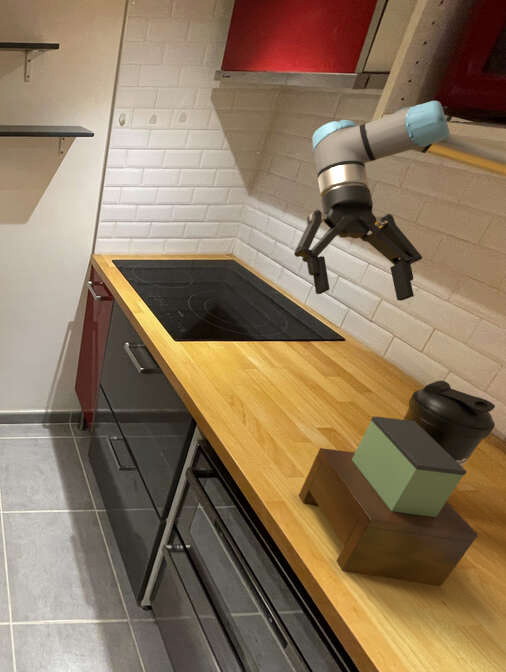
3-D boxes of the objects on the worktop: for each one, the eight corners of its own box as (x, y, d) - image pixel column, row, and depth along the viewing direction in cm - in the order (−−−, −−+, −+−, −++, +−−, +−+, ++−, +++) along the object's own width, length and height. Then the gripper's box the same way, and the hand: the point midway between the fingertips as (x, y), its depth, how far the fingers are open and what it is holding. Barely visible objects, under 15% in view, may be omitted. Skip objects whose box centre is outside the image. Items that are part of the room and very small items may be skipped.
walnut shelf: (381, 506, 82) (408, 458, 77) (441, 586, 69) (478, 534, 64) (298, 495, 84) (319, 447, 79) (341, 570, 71) (370, 519, 66)
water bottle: (422, 521, 79) (485, 421, 70) (358, 476, 88) (407, 382, 78) (453, 502, 83) (518, 405, 73) (389, 461, 91) (439, 370, 82)
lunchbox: (390, 464, 76) (414, 420, 72) (436, 517, 66) (467, 471, 62) (350, 459, 76) (372, 415, 72) (391, 511, 67) (418, 465, 63)
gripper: (400, 206, 90) (423, 307, 83) (267, 199, 93) (278, 295, 86) (431, 186, 83) (460, 294, 76) (286, 179, 86) (301, 282, 79)
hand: (363, 295), depth 81 cm, fingers open, 13 cm apart
